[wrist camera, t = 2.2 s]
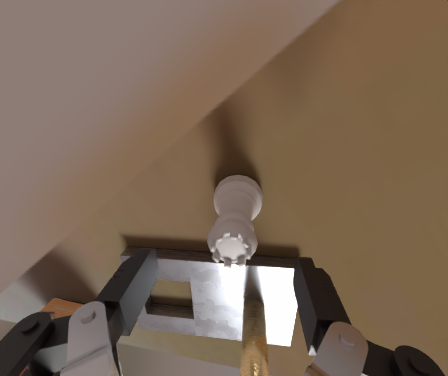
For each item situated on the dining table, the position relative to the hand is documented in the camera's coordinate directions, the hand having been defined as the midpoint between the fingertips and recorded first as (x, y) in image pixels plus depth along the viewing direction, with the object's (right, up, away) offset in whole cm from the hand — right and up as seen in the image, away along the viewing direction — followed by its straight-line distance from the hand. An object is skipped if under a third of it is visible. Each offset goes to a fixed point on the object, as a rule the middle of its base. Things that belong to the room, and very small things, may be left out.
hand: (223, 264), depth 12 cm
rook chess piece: (+1, +4, +8) cm, 9 cm away
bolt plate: (-1, -8, +13) cm, 16 cm away
